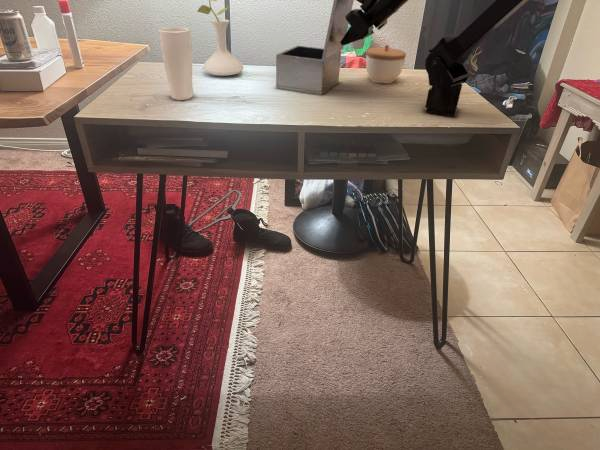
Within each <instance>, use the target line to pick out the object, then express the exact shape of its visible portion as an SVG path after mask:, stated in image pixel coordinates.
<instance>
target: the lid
mask: <svg viewBox="0 0 600 450" xmlns="http://www.w3.org/2000/svg"><path fill="white" fill-rule="evenodd" d="M354 2H355V0H333V3H332V6H331V13H330V17H329V22H328V28H327V32H326V37H325V42H324V45H323V46H324V47H323V49H324V51H323V56H322V58H323V59H326V58H328V57H330V56H331V55H333V54H335V53H337V52H338V51H342V50H344V46H342V45H341V43H340V42H341V40H342V39H343V37H344V36H345V34H346V33H347V31H348V29H349V28H348V27H349V25H350V24H349V23H348V21H347V20H346V18H345V16H346V15H347V14H348V13H349V12H350V11H351V10H353V5H354Z"/></svg>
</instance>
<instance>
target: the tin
mask: <svg viewBox="0 0 600 450" xmlns="http://www.w3.org/2000/svg"><path fill="white" fill-rule="evenodd" d="M323 51H324V48H322V47H312V46H304V45H295V46H293V47H291V48H289V49H285V50H284V51H282V52H280V53H277V54H276V55H275V68H276V70H275V77H276V78H275V80H276V81H275V88H276V89H279V90H285V91H292V92H300V93H304V94H311V95H319V96H322V95H323V94H325V93H327V91H329V90H330V89H332V88H333V87H334V86H337V84H338V83H339V81H340V70H341V69H340V68H341V59H342V58H341V57H342V50H340V51H338V52H337V53H335V54H333V55H331V56H330V57H328V58H326V59H323V58H322V56H323Z"/></svg>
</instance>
